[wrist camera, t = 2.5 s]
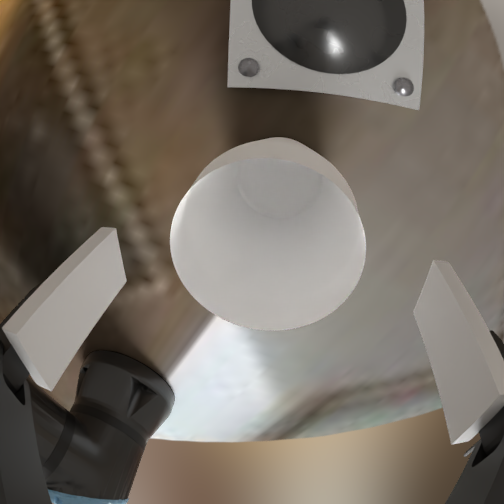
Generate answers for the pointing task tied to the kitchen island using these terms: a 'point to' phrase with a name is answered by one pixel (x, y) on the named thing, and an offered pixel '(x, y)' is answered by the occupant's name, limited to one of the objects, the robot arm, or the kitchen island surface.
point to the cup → (269, 236)
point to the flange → (329, 47)
